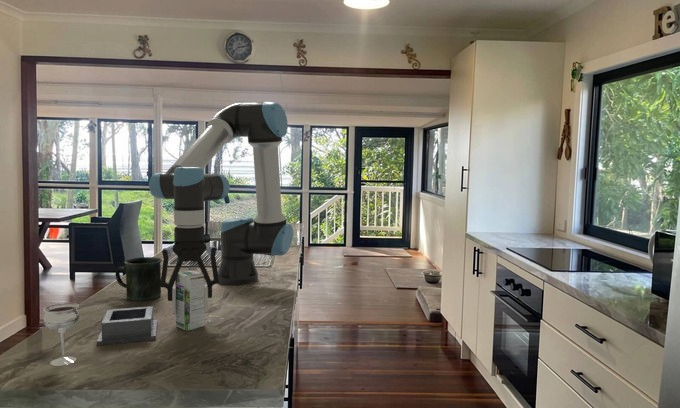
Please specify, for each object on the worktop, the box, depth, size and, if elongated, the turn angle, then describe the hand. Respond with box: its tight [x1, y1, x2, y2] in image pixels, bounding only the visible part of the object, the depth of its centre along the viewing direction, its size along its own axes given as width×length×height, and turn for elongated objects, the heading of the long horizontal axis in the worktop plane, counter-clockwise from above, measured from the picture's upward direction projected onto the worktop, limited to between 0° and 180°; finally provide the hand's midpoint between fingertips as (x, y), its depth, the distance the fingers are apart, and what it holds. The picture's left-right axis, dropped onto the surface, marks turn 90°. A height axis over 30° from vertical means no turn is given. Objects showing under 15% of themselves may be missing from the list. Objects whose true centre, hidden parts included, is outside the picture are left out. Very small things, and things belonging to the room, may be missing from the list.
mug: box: [115, 256, 163, 302], centre depth 153 cm, size 11×15×12 cm
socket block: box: [96, 305, 158, 346], centre depth 121 cm, size 13×13×5 cm
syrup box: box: [174, 270, 206, 332], centre depth 126 cm, size 6×6×14 cm
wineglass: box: [43, 302, 80, 367], centre depth 103 cm, size 7×7×12 cm
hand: (190, 311), depth 126 cm, fingers closed on syrup box, 7 cm apart
